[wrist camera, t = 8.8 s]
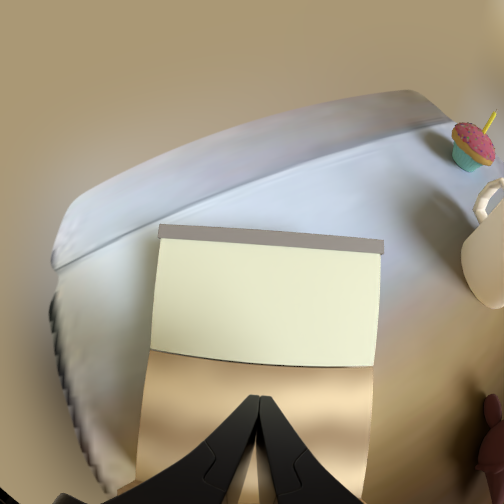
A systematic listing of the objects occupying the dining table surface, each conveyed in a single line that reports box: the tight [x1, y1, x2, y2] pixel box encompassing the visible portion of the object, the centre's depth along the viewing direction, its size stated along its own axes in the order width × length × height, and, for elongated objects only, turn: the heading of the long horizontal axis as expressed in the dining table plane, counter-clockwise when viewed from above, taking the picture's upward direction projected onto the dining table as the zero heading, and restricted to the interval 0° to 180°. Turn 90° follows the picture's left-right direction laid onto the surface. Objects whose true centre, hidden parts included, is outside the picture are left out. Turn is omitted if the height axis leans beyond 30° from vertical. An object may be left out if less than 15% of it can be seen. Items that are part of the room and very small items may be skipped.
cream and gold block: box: [117, 350, 373, 504], centre depth 15 cm, size 12×16×7 cm
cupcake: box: [452, 109, 498, 172], centre depth 29 cm, size 9×8×12 cm
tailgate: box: [150, 224, 384, 366], centre depth 19 cm, size 2×16×9 cm
